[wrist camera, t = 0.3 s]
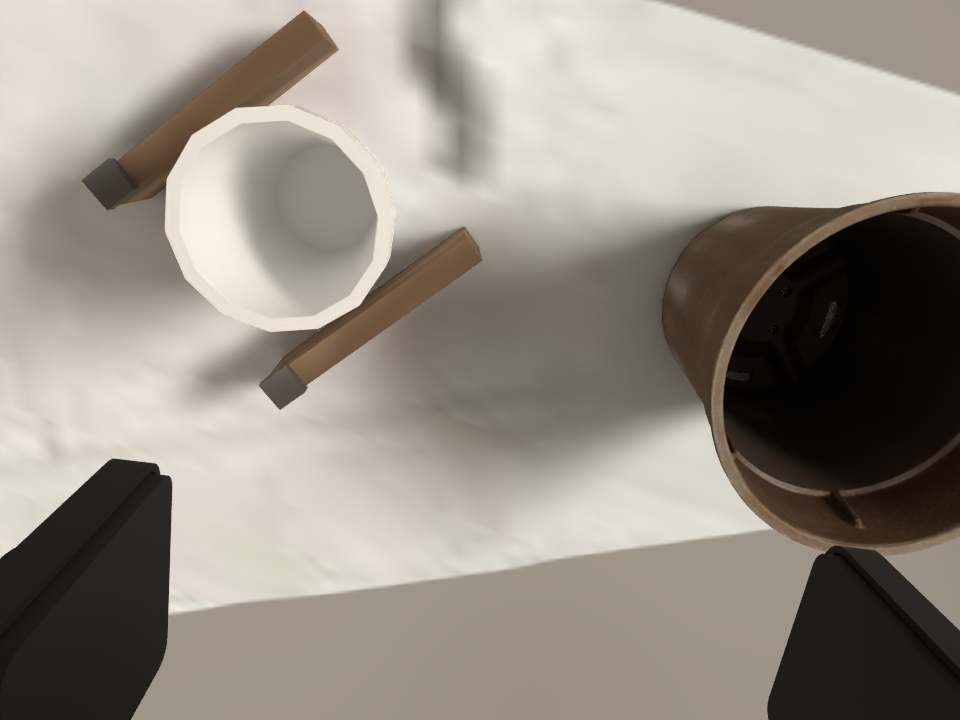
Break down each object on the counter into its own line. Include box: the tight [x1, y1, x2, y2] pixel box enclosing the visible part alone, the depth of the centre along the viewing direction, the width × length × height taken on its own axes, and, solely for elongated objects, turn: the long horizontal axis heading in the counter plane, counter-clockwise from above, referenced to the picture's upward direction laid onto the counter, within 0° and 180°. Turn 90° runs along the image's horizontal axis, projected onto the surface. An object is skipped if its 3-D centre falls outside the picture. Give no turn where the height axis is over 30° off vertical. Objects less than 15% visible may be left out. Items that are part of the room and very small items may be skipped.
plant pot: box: [662, 192, 960, 556], centre depth 37 cm, size 16×16×16 cm
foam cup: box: [165, 105, 397, 332], centre depth 36 cm, size 10×9×13 cm
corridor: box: [82, 11, 482, 410], centre depth 40 cm, size 15×14×6 cm
